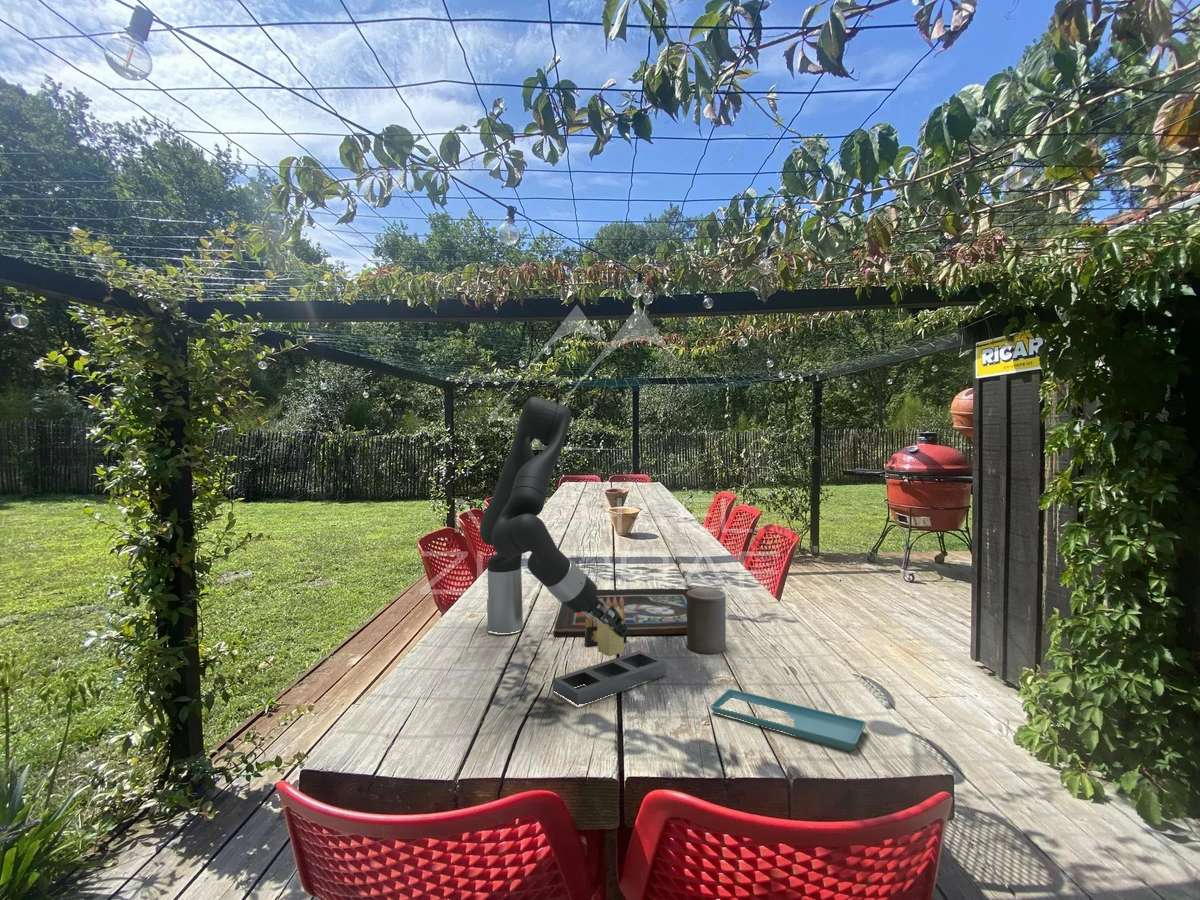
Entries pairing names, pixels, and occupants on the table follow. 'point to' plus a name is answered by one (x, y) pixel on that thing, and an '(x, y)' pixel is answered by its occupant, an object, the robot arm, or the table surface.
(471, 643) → the table surface
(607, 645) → the brass peg
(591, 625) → the ammunition clip
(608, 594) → the religious icon
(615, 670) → the rack rail
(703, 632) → the pillar candle
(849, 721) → the rectangular tray
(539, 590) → the table surface
